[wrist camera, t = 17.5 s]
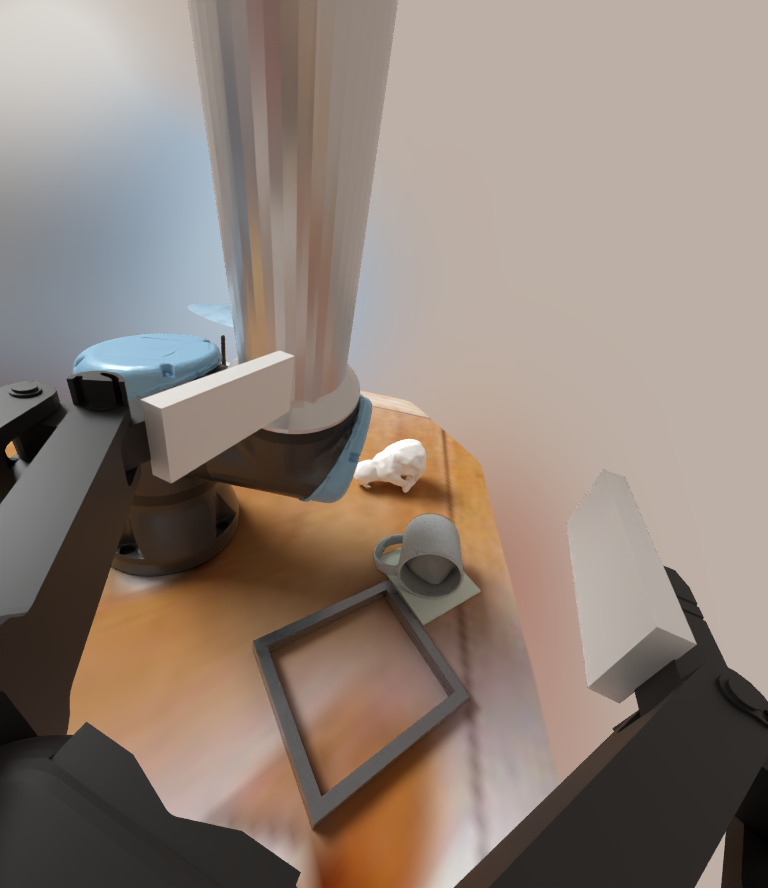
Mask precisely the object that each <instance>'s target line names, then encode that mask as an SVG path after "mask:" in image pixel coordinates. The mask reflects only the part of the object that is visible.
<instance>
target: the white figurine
mask: <svg viewBox="0 0 768 888" xmlns="http://www.w3.org/2000/svg"><path fill="white" fill-rule="evenodd" d="M426 458H427V455H426V451H425V449H424V447H423V446H422V444H421V443H420V442H419V441H417V440H414V439H406V440H401V441H398V442H396V443H394V444H391V445H390V446H388V447H386V448H385V450H384V451H382V452H380V453H378V454H377V455H376V456H375V457H374V458H373V460H365V461H362V462H359V463H358V464H357V467H356V470H355V473H354V476H353V477H354V479H355V480H356V481H357V482H358V483H359V485H363V486H364V487H366V488H367V487H369V488H370V486H368V485H367V484H369V482H372V481H378V480H380V481H383V482H390V483H392V484H395V485H398V486H401V487H402V491H403V492H404V493H406V492H408V491H409V489H410V488H411V487H412V486H413V485H414V484H415V483H416V482H417V481H418V479H419V478H420V477H421V476H422V474H423V473H424V471H425V470H426V469H427V468H426ZM406 475H407V477H406V479H405V480H404V479H402V478H401V476H406ZM371 488H372V487H371ZM367 489H368V488H367ZM369 490H370V489H369Z"/></svg>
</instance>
